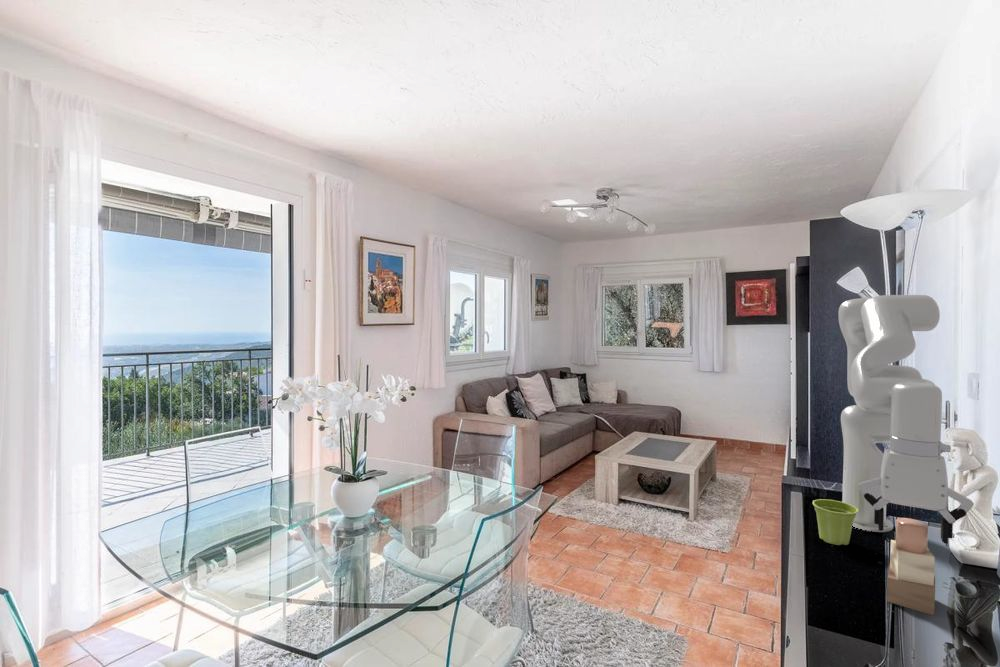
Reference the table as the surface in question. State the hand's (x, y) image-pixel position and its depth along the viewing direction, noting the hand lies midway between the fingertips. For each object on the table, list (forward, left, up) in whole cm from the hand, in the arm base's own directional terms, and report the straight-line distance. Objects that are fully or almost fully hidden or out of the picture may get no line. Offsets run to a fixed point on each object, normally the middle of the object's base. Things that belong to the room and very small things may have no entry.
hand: (911, 534), depth 98 cm
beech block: (0, 0, -8) cm, 8 cm away
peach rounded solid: (0, 0, -3) cm, 3 cm away
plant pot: (-23, -13, -13) cm, 30 cm away
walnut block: (0, 0, -13) cm, 13 cm away
